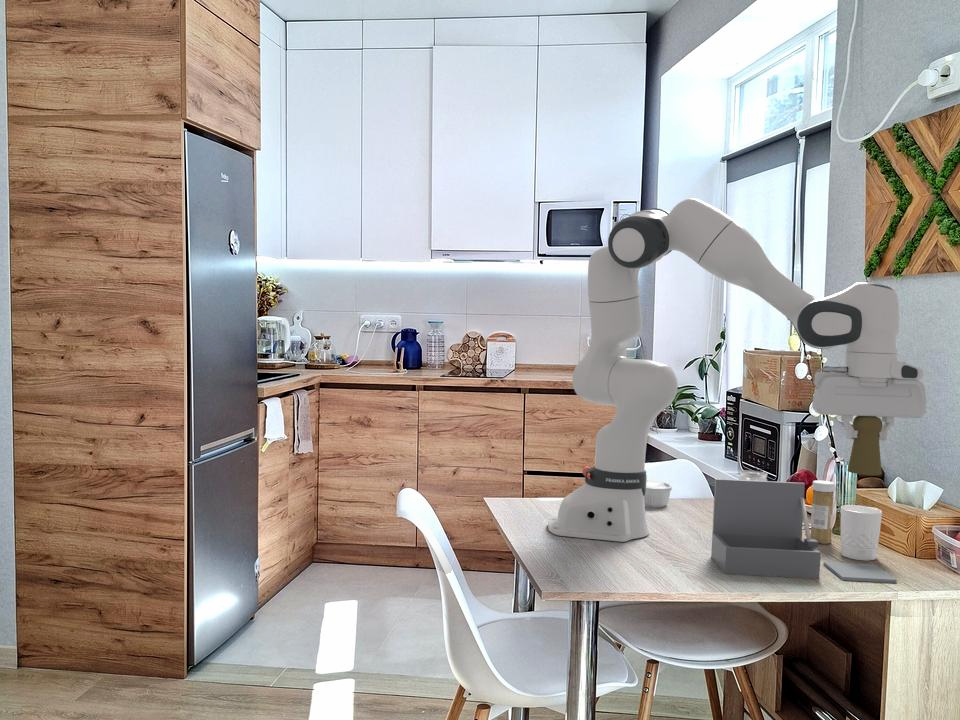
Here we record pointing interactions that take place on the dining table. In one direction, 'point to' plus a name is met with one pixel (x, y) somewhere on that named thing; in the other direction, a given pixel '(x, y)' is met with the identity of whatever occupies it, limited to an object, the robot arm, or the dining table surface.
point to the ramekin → (656, 494)
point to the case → (762, 529)
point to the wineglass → (752, 475)
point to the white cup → (860, 531)
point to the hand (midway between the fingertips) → (866, 439)
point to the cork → (866, 446)
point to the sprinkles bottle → (822, 511)
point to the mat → (859, 572)
